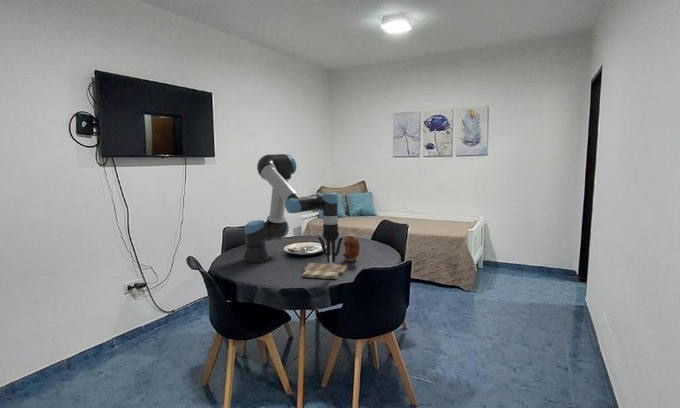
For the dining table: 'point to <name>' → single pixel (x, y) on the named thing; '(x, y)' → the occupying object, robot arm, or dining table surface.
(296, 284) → the dining table surface
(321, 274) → the plank
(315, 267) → the floorboard
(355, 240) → the mug
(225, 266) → the dining table surface
